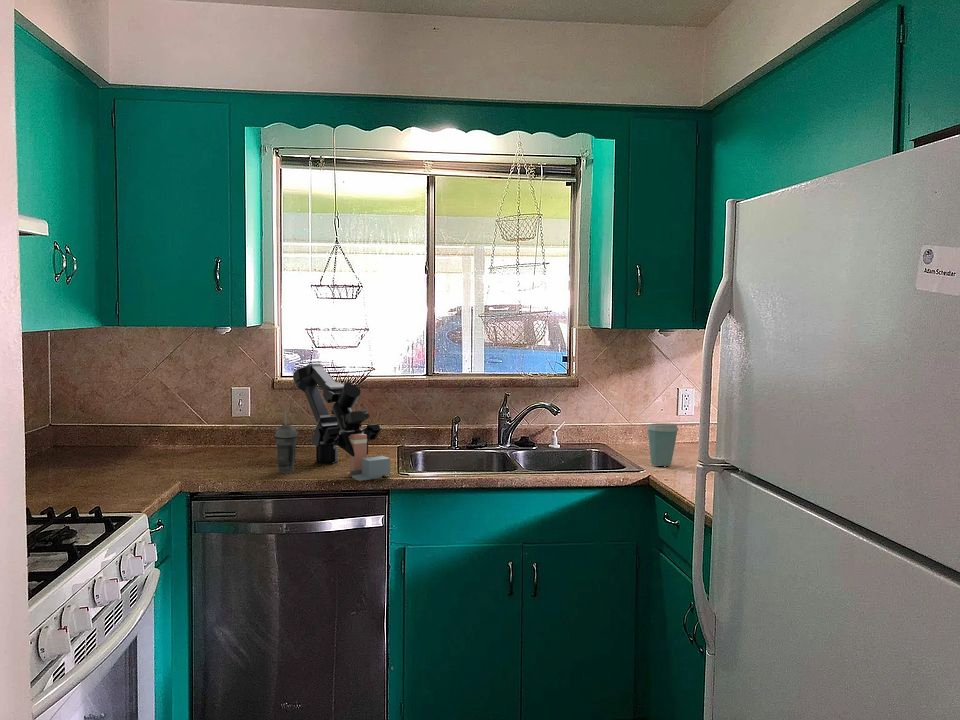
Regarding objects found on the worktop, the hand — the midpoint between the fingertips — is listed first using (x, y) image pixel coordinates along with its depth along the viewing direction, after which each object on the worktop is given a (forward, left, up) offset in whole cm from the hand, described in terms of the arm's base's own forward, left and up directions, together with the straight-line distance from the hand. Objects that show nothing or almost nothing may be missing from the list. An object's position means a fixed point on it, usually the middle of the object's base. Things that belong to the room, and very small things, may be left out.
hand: (360, 455), depth 248 cm
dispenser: (+4, -2, -7) cm, 8 cm away
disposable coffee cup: (+97, +37, -7) cm, 104 cm away
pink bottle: (-1, +1, -7) cm, 7 cm away
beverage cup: (-25, 0, -7) cm, 26 cm away
